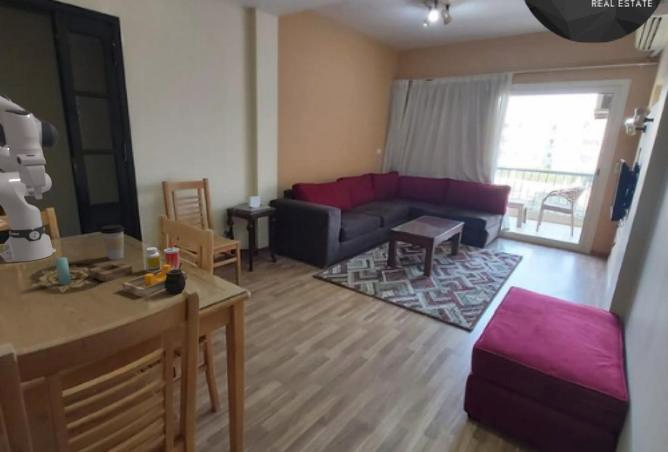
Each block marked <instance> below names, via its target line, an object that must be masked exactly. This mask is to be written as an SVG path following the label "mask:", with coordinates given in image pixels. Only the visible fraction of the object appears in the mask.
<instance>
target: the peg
mask: <svg viewBox="0 0 668 452" xmlns="http://www.w3.org/2000/svg"><path fill="white" fill-rule="evenodd" d="M54 261H55V266H56V272H57V277H58V283H59V285H60V286H66V285H67V286H68V285H70V284H71V283H72V280H71V272H70V269H69V268H70V267H69V261H68V258H67V257H66V256H64V257H63V256H62V257H57V258H55V259H54Z"/></svg>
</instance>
